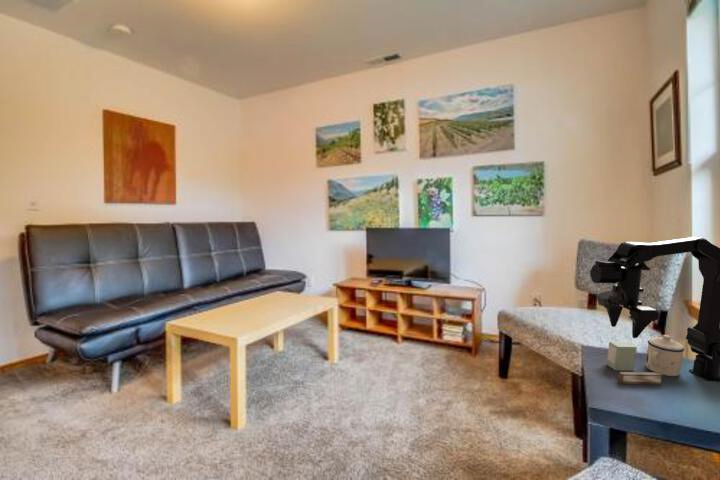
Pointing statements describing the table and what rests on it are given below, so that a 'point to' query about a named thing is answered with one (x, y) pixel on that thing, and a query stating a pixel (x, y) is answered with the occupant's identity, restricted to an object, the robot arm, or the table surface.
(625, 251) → the robot arm
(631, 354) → the sage tin
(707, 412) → the table surface
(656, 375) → the wooden block
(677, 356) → the teacup with lid
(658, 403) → the table surface
